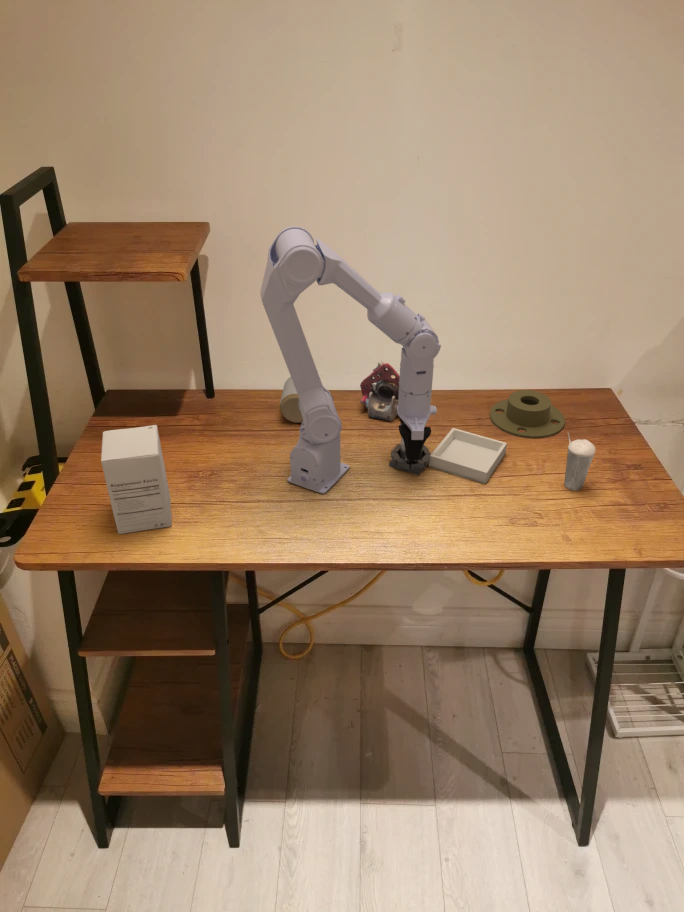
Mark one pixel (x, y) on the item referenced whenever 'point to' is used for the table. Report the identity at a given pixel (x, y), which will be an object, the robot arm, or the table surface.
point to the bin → (468, 455)
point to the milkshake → (578, 463)
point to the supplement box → (136, 479)
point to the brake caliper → (381, 392)
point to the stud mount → (406, 465)
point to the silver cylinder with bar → (403, 453)
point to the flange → (527, 415)
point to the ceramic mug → (290, 402)
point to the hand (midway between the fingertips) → (411, 451)
